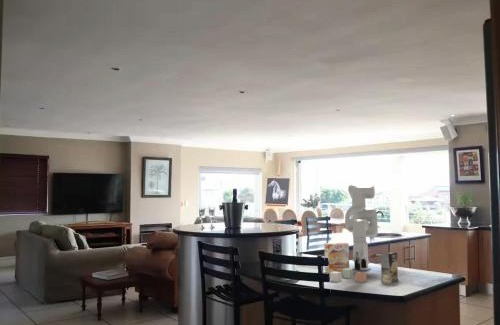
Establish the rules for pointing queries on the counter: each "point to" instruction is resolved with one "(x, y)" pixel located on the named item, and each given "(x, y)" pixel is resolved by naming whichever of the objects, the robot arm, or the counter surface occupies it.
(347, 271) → the sage block
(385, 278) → the birch cylinder
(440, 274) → the counter surface
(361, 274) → the terracotta block
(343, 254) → the coffeecake box
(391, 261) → the coffee box
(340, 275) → the off-white block
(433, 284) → the counter surface
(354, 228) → the robot arm
